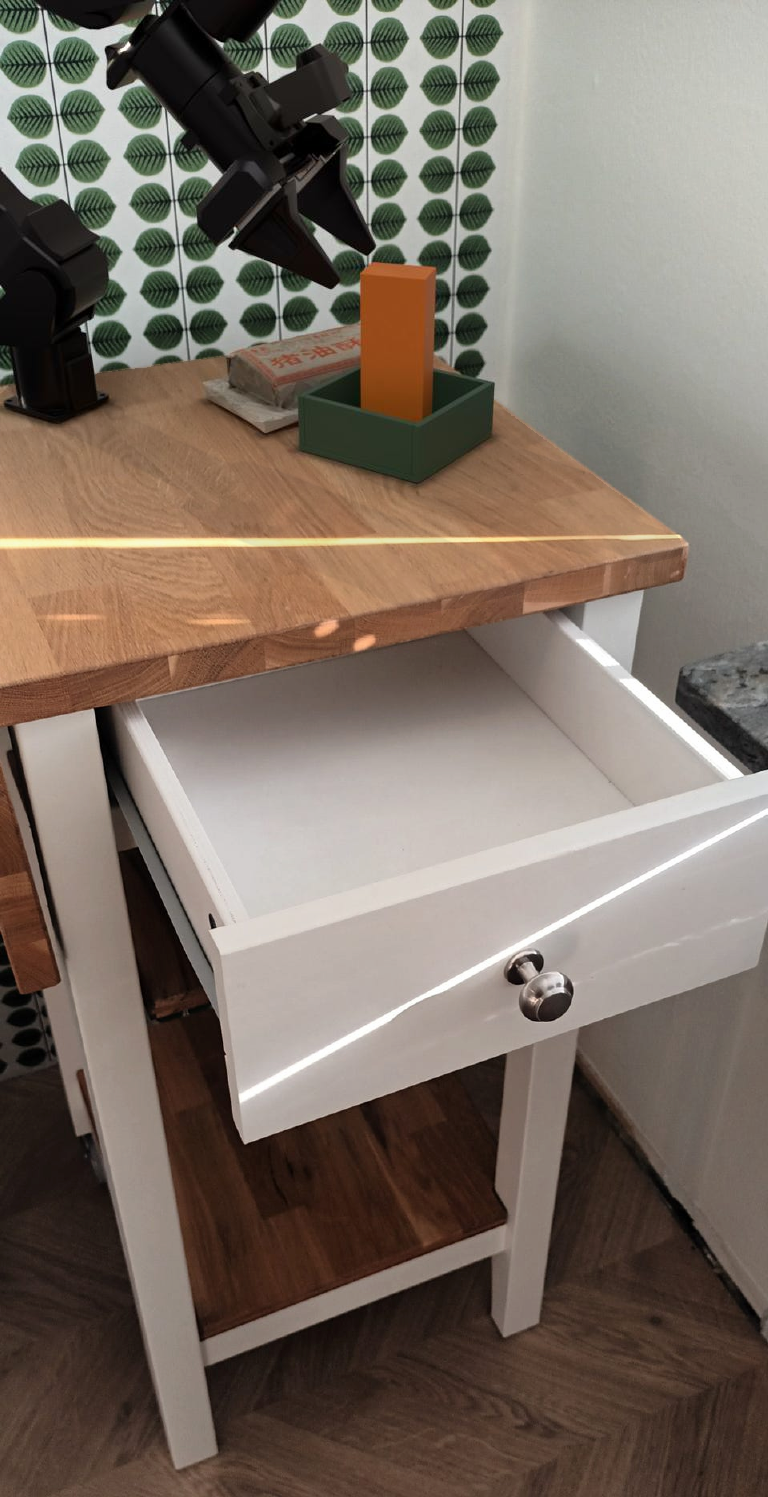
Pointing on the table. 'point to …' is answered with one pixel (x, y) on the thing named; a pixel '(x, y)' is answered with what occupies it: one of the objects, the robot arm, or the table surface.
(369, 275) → the tall orange pillar
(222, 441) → the table surface
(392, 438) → the green square open box
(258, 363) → the packaged product
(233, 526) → the table surface
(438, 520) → the table surface
